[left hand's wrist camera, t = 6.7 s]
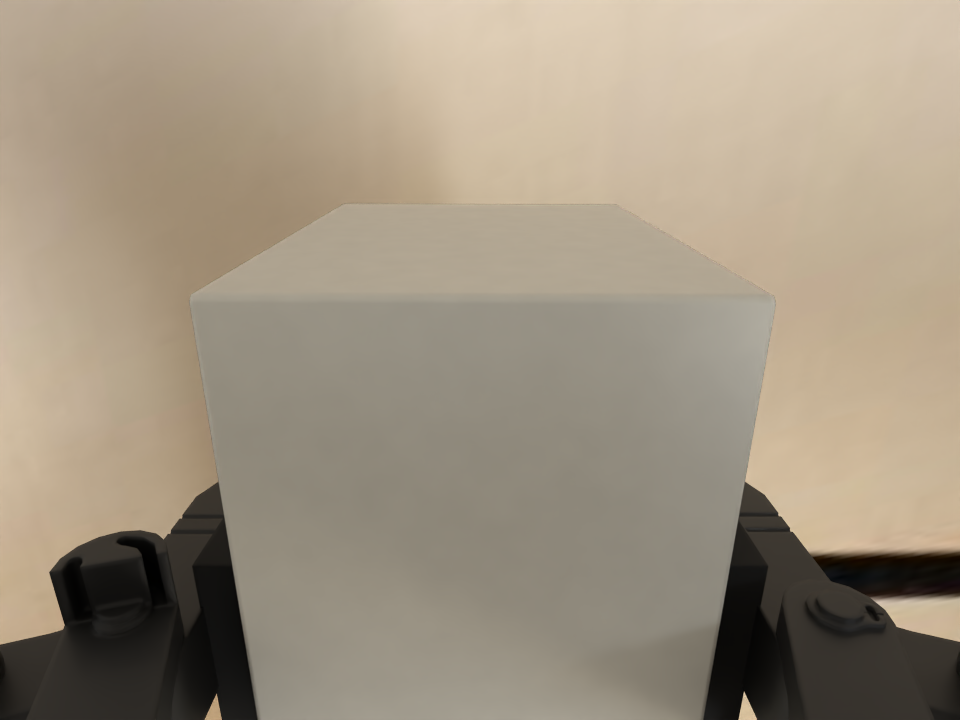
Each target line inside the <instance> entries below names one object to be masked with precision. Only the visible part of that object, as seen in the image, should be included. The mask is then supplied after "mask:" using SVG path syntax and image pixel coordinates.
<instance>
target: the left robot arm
mask: <svg viewBox="0 0 960 720" xmlns="http://www.w3.org/2000/svg"><path fill="white" fill-rule="evenodd" d="M49 573H50V576H51V580H52V583H53V587H54V590H55V593H56V597H57V600H58V604H59V607H60V610H61V614H62V617H63V621H64V624H65V626H64V629H63V630H61V631H58V632H54V633H51V634H46V635H42V636H37V637H33V638H28V639H24V640H20V641H15V642H11V643H6V644H2V645H0V720H204V719H205V717H206V715H207V713H208V711H209V709H210V706H211V704H212V702H213V700H214V698H215V696H216V693H217V696H218V701H219V707H220V712H221V717H222V720H258V719H257V712H256V706H255V700H254V694H253V688H252V682H251V676H250V670H249V664H248V658H247V651H246V645H245V639H244V633H243V627H242V621H241V615H240V609H239V603H238V597H237V590H236V584H235V578H234V572H233V566H232V560H231V554H230V548H229V542H228V536H227V529H226V523H225V517H224V511H223V505H222V499H221V493H220V487H219V482H218V483H216V484H215V485H213V486H212V487H210V488H209V489H207V490H206V491H204V492H203V493H201V494H200V495H198V496H197V497H196V498H195V499H194V501H193V502H192V503H191V505H190V506H189V507H188V509H187V510H186V511H185V512H184V514H183V517H182V519H179V520H178V522H177V523H176V524H175V526H174V527H173V528H172V530H171V534H168V535H167V536H166V537H165V539H164V540H163V539H162V538H161V537H160V536H159V535H157V534H155V533H151V532H146V531H141V530H139V531H123V532H117V533H113V534H109V535H106V536H102V537H98V538H96V539H94V540H91V541H89V542H87V543H85V544H82V545H80V546H78V547H76V548H75V549H74V550H72V551H71V552H69V553H68V554H67V555H65V556H64V557H62V558H61V559H60V560H59V561H58V562H57V564H56V565H55V566H54V567H53V569H52V570H51V571H50V572H49ZM744 692H745V694H746V696H747V698H748V700H749V702H750V705H751V707H752V709H753V711H754V713H755V715H756V717H757V720H960V642H957V641H953V640H948V639H944V638H939V637H935V636H930V635H926V634H921V633H917V632H912V631H909V630H905V629H902V628H898V627H896V625H895V624H894V622H893V621H892V619H891V618H890V616H889V615H888V613H887V612H886V611H885V610H884V609H883V608H882V607H881V606H879V605H878V604H877V603H876V602H874V601H873V600H872V599H871V598H869V597H868V596H866V595H864V594H862V593H860V592H858V591H856V590H854V589H852V588H850V587H848V586H844V585H841V584H838V583H834V582H831V581H830V580H829V579H828V577H827V576H826V575H825V573H824V572H823V571H822V569H821V568H820V567H819V566H818V564H817V563H816V562H815V560H814V559H813V558H812V556H811V555H810V554H809V553H808V551H807V550H806V549H805V547H804V546H803V545H802V543H801V542H800V541H799V539H798V538H797V537H796V536H795V534H794V533H793V532H790V528H789V526H788V525H787V524H786V522H785V521H784V520H783V519H782V517H779V516H778V512H777V511H776V509H775V508H774V507H773V505H772V504H771V503H770V502H769V500H768V499H767V498H766V496H765V495H764V494H762V493H761V492H759V491H758V490H756V489H755V488H753V487H752V486H750V485H749V484H747V483H746V482H745V483H744V489H743V495H742V500H741V506H740V512H739V518H738V523H737V529H736V535H735V540H734V546H733V552H732V558H731V563H730V569H729V575H728V581H727V586H726V592H725V598H724V603H723V609H722V615H721V621H720V626H719V632H718V638H717V643H716V649H715V655H714V661H713V666H712V672H711V678H710V683H709V689H708V695H707V701H706V706H705V712H704V718H703V720H738V719H739V714H740V709H741V704H742V699H743V693H744Z"/></svg>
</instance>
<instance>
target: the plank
mask: <svg viewBox="0 0 960 720" xmlns="http://www.w3.org/2000/svg"><path fill="white" fill-rule="evenodd" d="M189 304H190V310H191V316H192V322H193V328H194V334H195V340H196V346H197V353H198V359H199V365H200V371H201V377H202V383H203V389H204V395H205V401H206V407H207V414H208V420H209V426H210V432H211V438H212V444H213V450H214V456H215V462H216V468H217V475H218V481H219V487H220V493H221V499H222V505H223V511H224V517H225V523H226V529H227V536H228V542H229V548H230V554H231V560H232V566H233V572H234V578H235V584H236V590H237V597H238V603H239V609H240V615H241V621H242V627H243V633H244V639H245V645H246V651H247V658H248V664H249V670H250V676H251V682H252V688H253V694H254V700H255V706H256V712H257V719H258V720H703V718H704V712H705V706H706V701H707V695H708V689H709V683H710V678H711V672H712V666H713V661H714V655H715V649H716V643H717V638H718V632H719V626H720V621H721V615H722V609H723V603H724V598H725V592H726V586H727V581H728V575H729V569H730V563H731V558H732V552H733V546H734V540H735V535H736V529H737V523H738V518H739V512H740V506H741V500H742V495H743V489H744V483H745V478H746V472H747V466H748V460H749V455H750V449H751V443H752V437H753V432H754V426H755V420H756V415H757V409H758V403H759V397H760V392H761V386H762V380H763V375H764V369H765V363H766V357H767V352H768V346H769V340H770V334H771V329H772V323H773V317H774V312H775V306H776V302H775V297H774V296H773V295H771V294H770V293H768V292H766V291H764V290H763V289H761V288H759V287H758V286H756V285H754V284H752V283H751V282H749V281H747V280H746V279H744V278H742V277H740V276H739V275H737V274H735V273H734V272H732V271H730V270H728V269H727V268H725V267H723V266H721V265H720V264H718V263H716V262H715V261H713V260H711V259H709V258H708V257H706V256H704V255H703V254H701V253H699V252H697V251H696V250H694V249H692V248H691V247H689V246H687V245H685V244H684V243H682V242H680V241H679V240H677V239H675V238H673V237H672V236H670V235H668V234H667V233H665V232H663V231H661V230H660V229H658V228H656V227H655V226H653V225H651V224H649V223H648V222H646V221H644V220H643V219H641V218H639V217H637V216H636V215H634V214H632V213H631V212H629V211H627V210H625V209H624V208H622V207H620V206H618V205H616V204H343V205H341V206H339V207H337V208H336V209H334V210H332V211H331V212H329V213H327V214H326V215H324V216H322V217H320V218H319V219H317V220H315V221H314V222H312V223H310V224H309V225H307V226H305V227H304V228H302V229H300V230H299V231H297V232H295V233H294V234H292V235H290V236H288V237H287V238H285V239H283V240H282V241H280V242H278V243H277V244H275V245H273V246H272V247H270V248H268V249H267V250H265V251H263V252H262V253H260V254H258V255H257V256H255V257H253V258H251V259H250V260H248V261H246V262H245V263H243V264H241V265H240V266H238V267H236V268H235V269H233V270H231V271H230V272H228V273H226V274H225V275H223V276H221V277H219V278H218V279H216V280H214V281H213V282H211V283H209V284H208V285H206V286H204V287H203V288H201V289H199V290H198V291H196V292H194V293H193V294H191V296H190V300H189Z"/></svg>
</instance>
